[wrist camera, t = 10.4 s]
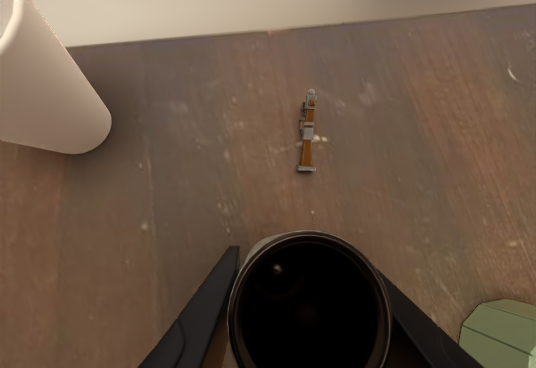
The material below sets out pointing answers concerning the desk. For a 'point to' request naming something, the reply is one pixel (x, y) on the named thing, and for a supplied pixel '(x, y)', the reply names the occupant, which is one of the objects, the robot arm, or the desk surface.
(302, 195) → the desk surface
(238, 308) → the grey hollow cylinder
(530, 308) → the mug
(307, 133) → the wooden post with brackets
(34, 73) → the cup
